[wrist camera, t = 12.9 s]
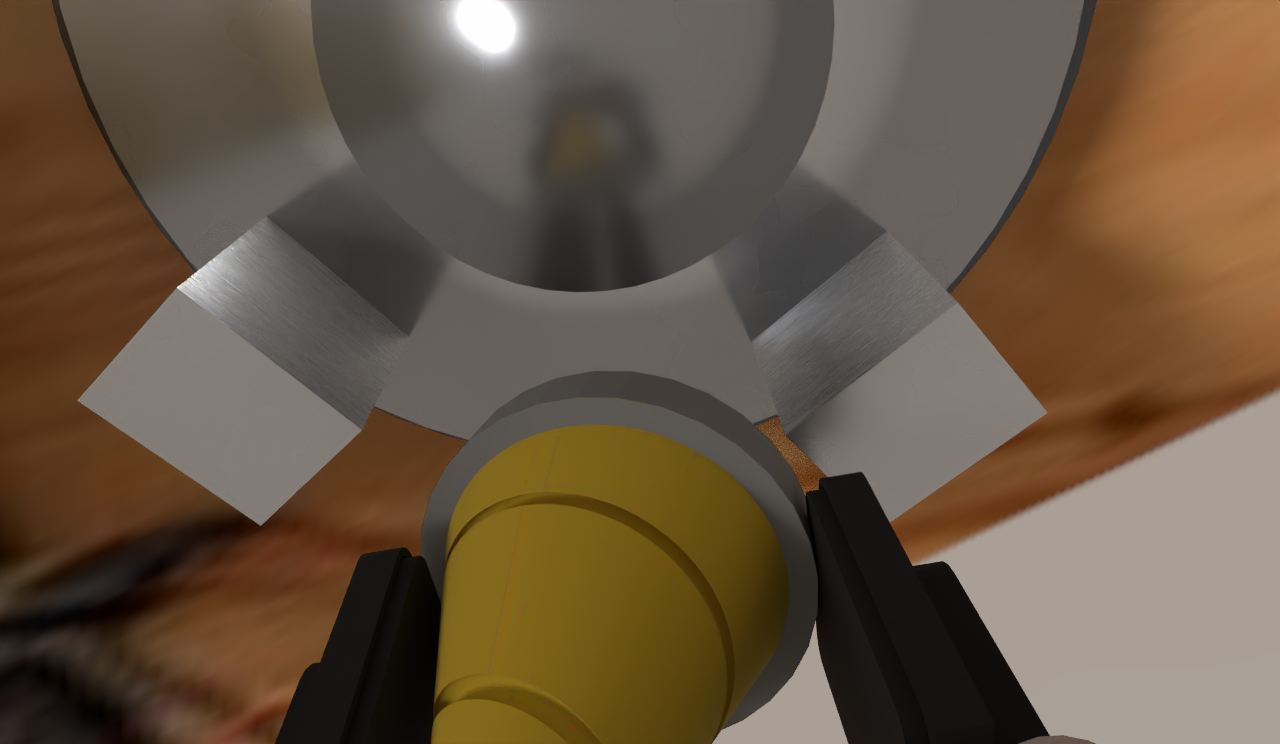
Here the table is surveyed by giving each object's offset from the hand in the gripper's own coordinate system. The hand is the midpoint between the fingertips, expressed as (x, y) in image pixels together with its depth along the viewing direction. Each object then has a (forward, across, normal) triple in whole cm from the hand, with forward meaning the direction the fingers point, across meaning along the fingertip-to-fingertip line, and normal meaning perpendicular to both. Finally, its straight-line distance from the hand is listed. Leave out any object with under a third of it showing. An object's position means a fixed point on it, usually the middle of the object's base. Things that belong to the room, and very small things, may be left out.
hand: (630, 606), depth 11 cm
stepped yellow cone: (+4, -1, 0) cm, 4 cm away
